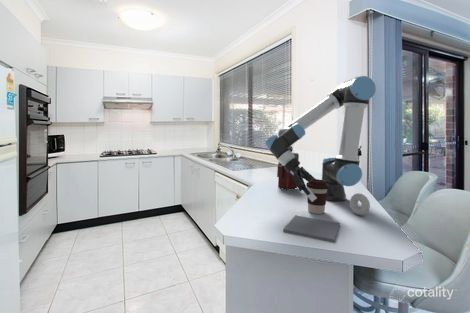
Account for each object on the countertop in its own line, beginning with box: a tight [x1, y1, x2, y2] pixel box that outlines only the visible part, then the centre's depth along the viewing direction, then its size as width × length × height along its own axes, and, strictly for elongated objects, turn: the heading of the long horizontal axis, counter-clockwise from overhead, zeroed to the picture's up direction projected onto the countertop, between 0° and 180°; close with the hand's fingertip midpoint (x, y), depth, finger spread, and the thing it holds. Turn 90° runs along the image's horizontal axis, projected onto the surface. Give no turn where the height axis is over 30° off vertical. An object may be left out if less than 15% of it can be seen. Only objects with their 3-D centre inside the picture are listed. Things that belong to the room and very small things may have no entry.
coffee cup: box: [305, 178, 329, 215], centre depth 119 cm, size 10×10×15 cm
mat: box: [282, 215, 341, 243], centre depth 99 cm, size 18×18×1 cm
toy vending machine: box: [276, 145, 300, 191], centre depth 166 cm, size 9×11×28 cm
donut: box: [349, 193, 371, 217], centre depth 116 cm, size 10×4×10 cm, turn 21°
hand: (318, 196), depth 118 cm, fingers open, 13 cm apart
